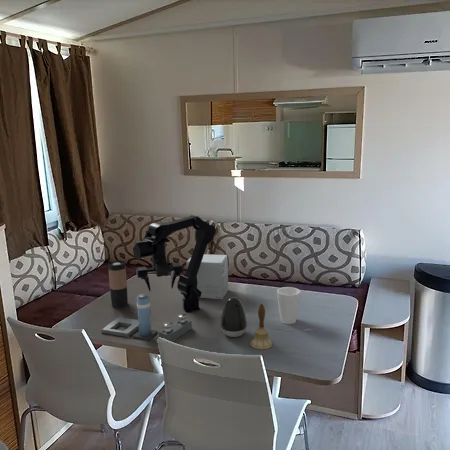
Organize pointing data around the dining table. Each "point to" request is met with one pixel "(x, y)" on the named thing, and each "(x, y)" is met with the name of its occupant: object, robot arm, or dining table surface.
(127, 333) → the socket plate
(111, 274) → the travel mug
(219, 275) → the supplement box
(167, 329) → the plunger
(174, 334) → the bar
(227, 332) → the dark egg shaped device
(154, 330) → the mat
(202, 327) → the dining table surface
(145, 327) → the cartridge
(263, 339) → the hand bell
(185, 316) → the plunger
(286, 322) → the foam cup
